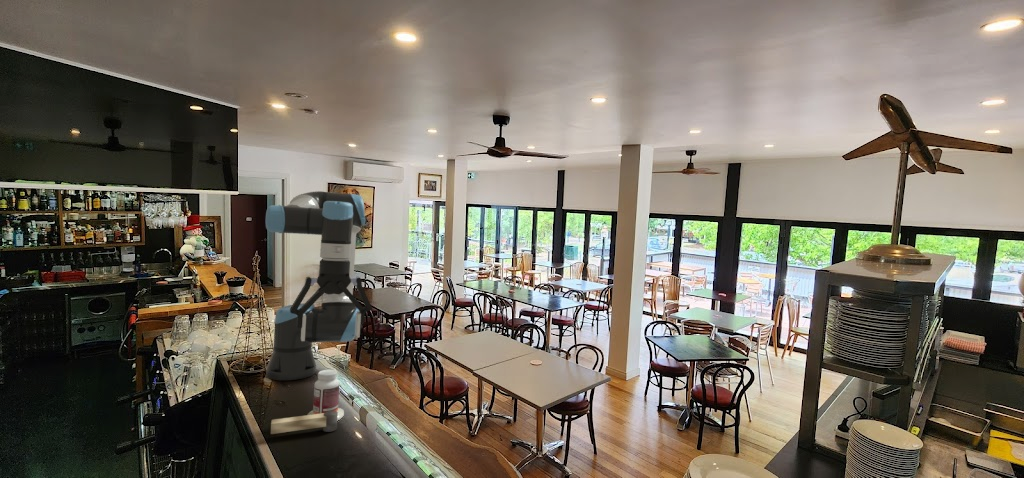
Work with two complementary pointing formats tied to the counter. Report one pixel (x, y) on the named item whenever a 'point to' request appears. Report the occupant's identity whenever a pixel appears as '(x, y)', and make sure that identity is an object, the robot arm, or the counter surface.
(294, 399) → the counter surface
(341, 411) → the seat pad
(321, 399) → the pill bottle
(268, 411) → the counter surface
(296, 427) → the hinged leg
